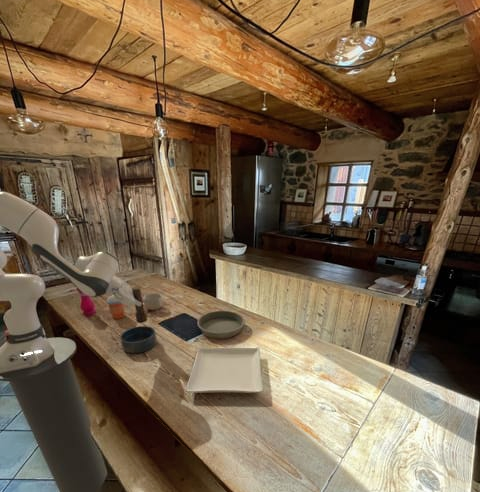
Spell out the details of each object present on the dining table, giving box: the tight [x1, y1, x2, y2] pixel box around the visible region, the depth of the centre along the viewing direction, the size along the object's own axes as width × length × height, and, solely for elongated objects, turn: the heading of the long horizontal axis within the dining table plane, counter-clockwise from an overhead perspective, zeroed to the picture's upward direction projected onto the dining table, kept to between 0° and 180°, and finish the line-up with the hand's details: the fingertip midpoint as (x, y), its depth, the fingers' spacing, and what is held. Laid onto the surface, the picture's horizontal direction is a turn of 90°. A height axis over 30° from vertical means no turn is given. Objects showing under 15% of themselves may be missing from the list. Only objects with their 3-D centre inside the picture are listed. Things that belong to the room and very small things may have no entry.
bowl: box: [119, 325, 157, 354], centre depth 124 cm, size 15×15×6 cm
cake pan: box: [196, 310, 246, 339], centre depth 139 cm, size 25×25×4 cm
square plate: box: [185, 347, 264, 394], centre depth 105 cm, size 27×27×4 cm
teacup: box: [142, 292, 163, 311], centre depth 161 cm, size 14×11×8 cm
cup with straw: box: [105, 295, 125, 320], centre depth 150 cm, size 9×9×18 cm
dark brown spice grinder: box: [131, 286, 148, 324], centre depth 120 cm, size 5×5×16 cm
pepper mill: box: [76, 287, 96, 317], centre depth 154 cm, size 7×7×20 cm
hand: (140, 302), depth 120 cm, fingers closed on dark brown spice grinder, 3 cm apart
